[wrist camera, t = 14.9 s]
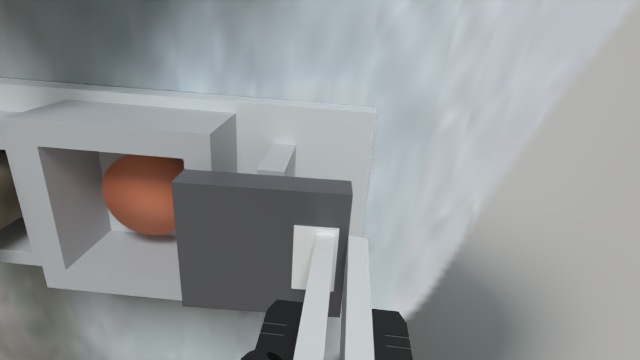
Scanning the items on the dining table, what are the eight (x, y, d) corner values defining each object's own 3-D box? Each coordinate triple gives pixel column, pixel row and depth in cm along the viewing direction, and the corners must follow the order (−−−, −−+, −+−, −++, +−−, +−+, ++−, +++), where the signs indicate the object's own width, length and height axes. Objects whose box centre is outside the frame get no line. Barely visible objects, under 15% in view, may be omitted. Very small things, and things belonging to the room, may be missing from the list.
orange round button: (122, 219, 22) (108, 231, 21) (111, 143, 21) (95, 151, 19) (200, 226, 22) (191, 239, 21) (195, 150, 20) (185, 159, 19)
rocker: (193, 286, 18) (181, 308, 17) (184, 168, 16) (169, 183, 15) (339, 296, 18) (339, 319, 17) (351, 180, 16) (353, 196, 15)
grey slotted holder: (4, 230, 25) (-82, 282, 20) (-41, 74, 21) (-162, 90, 16) (356, 263, 24) (358, 327, 19) (375, 106, 20) (384, 135, 15)
